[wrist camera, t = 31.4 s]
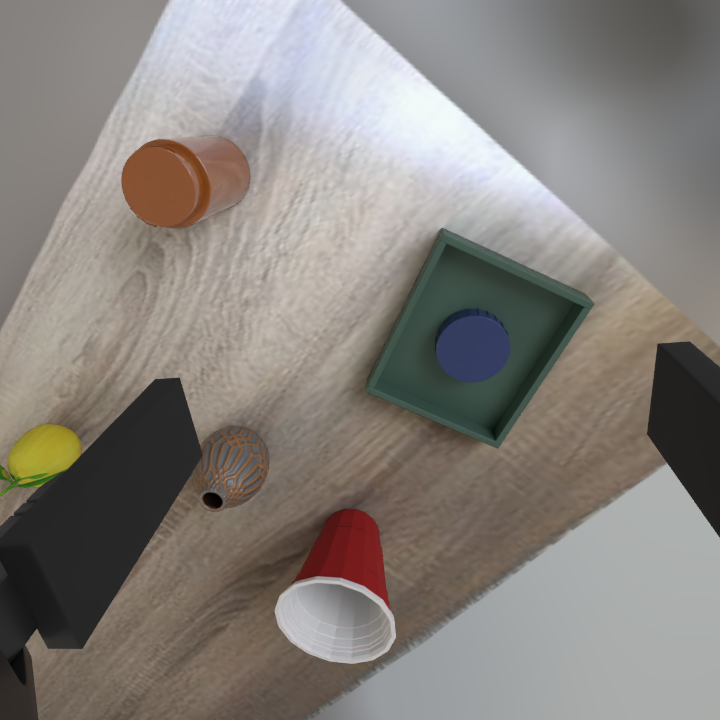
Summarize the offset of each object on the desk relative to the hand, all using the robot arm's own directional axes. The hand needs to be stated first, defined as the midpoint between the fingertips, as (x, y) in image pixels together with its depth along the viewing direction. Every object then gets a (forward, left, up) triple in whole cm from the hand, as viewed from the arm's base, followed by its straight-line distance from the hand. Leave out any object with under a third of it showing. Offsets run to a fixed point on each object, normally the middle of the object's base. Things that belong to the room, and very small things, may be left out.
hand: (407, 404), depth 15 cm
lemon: (+34, -23, -31) cm, 52 cm away
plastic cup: (+32, +8, -31) cm, 45 cm away
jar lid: (+7, +9, -29) cm, 31 cm away
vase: (+27, -6, -31) cm, 42 cm away
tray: (+7, +9, -31) cm, 33 cm away
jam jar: (+3, -16, -31) cm, 35 cm away
